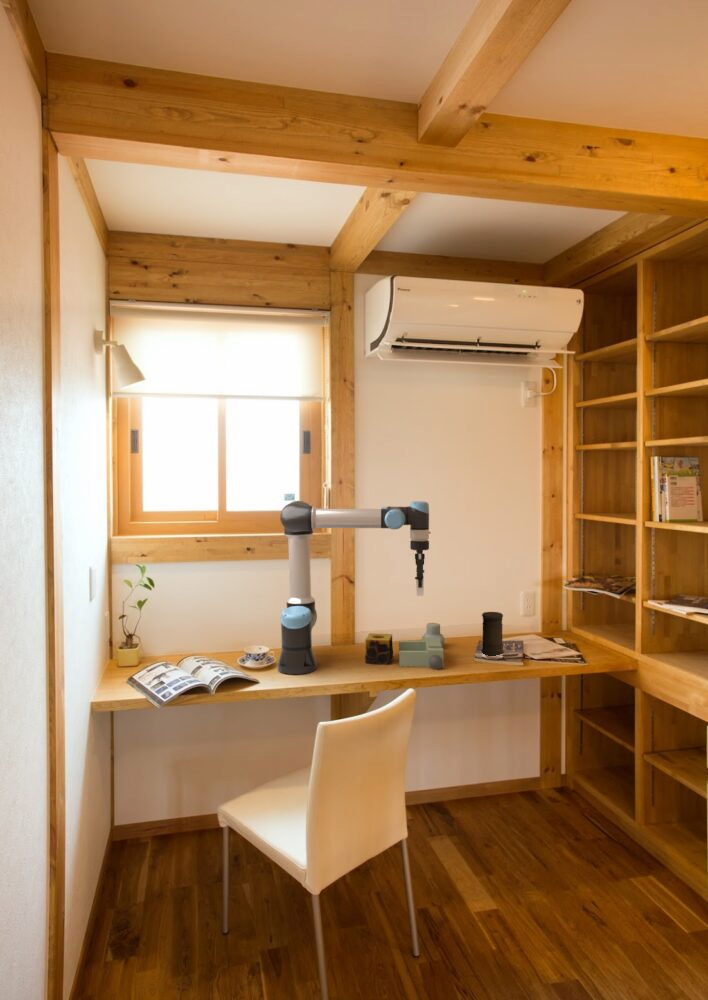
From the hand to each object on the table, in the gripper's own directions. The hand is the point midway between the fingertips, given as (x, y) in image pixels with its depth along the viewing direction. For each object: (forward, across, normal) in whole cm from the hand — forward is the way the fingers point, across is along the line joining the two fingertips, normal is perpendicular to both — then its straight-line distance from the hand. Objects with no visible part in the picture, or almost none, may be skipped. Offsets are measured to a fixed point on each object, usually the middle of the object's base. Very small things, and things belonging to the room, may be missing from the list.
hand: (419, 592), depth 262 cm
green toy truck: (+28, -2, 0) cm, 28 cm away
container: (+28, +4, -30) cm, 41 cm away
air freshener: (+28, +18, -6) cm, 34 cm away
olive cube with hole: (+28, -3, +16) cm, 32 cm away
